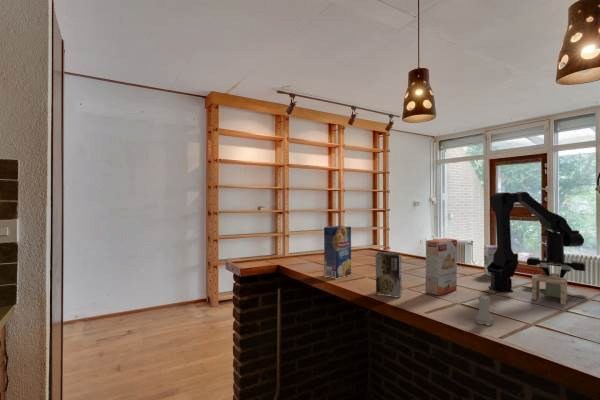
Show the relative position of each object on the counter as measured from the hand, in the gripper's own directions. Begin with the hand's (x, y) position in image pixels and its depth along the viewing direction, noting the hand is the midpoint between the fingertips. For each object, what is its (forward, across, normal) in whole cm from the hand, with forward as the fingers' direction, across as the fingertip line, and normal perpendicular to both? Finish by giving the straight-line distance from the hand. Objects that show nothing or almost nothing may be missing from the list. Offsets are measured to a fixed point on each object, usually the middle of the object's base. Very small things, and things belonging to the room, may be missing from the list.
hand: (555, 284), depth 133 cm
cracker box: (+2, +33, +37) cm, 49 cm away
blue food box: (+2, +79, +43) cm, 91 cm away
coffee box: (+2, +46, +55) cm, 72 cm away
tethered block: (+2, 0, +7) cm, 7 cm away
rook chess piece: (+2, +12, +62) cm, 63 cm away
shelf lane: (+2, 0, +20) cm, 20 cm away
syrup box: (+2, +24, -8) cm, 26 cm away
